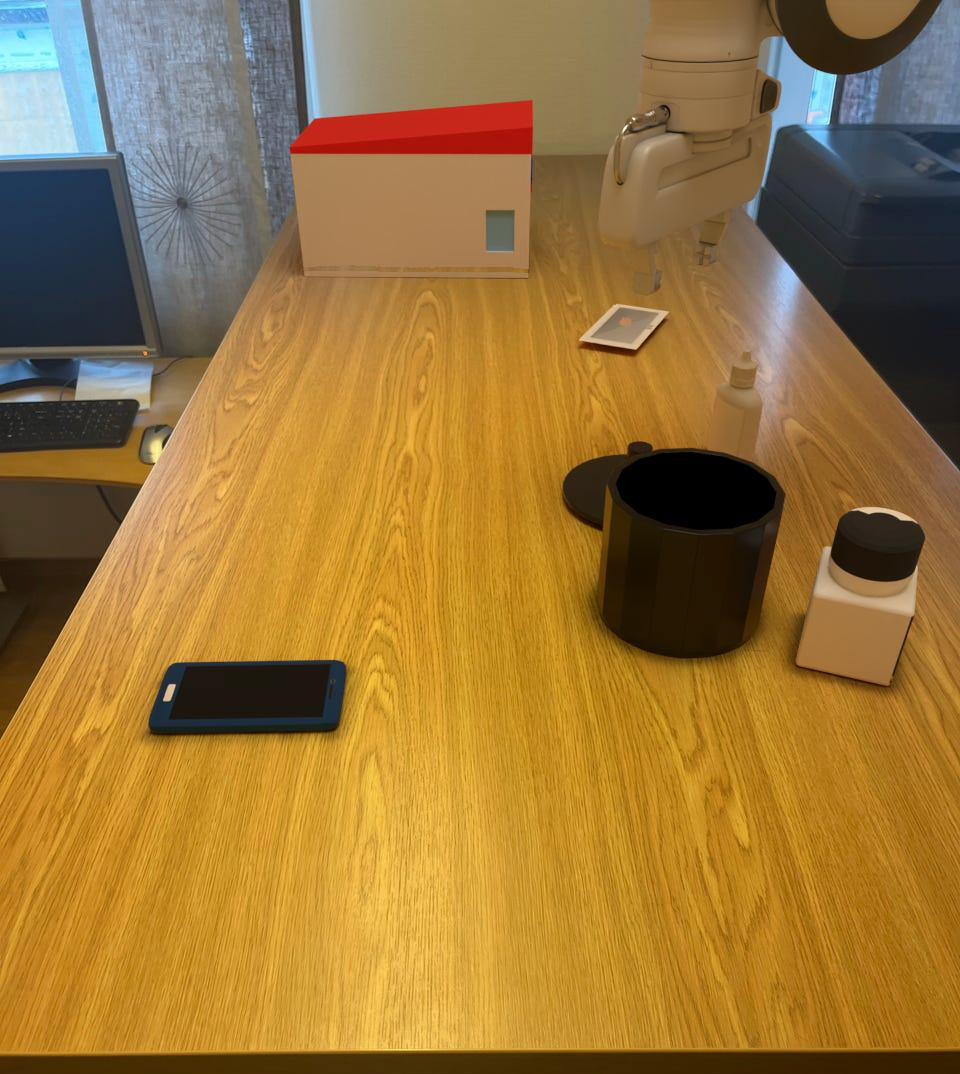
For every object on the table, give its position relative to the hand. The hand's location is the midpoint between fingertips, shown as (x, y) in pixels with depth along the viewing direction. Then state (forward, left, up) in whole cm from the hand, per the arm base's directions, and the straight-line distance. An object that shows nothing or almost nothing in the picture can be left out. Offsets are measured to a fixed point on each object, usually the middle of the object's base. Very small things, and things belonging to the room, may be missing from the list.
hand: (676, 277), depth 84 cm
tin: (-12, +15, -21) cm, 29 cm away
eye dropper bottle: (-2, -11, -22) cm, 24 cm away
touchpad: (+27, -34, -22) cm, 48 cm away
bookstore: (+71, -41, -22) cm, 84 cm away
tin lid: (+1, +2, -21) cm, 21 cm away
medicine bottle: (-26, +11, -22) cm, 35 cm away
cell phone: (+6, +46, -21) cm, 51 cm away
